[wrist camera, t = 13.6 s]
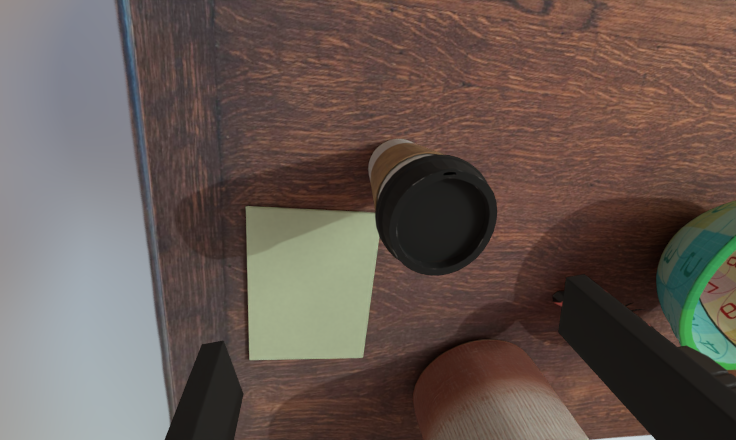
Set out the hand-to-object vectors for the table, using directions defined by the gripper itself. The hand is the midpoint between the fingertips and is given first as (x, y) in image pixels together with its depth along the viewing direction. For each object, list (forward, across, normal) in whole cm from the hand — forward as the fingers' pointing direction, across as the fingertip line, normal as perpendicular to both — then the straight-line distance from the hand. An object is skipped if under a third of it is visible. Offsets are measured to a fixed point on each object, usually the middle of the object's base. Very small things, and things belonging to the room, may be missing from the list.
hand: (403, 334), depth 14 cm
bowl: (+24, +43, -18) cm, 52 cm away
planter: (+24, +13, -34) cm, 44 cm away
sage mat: (+24, -6, -14) cm, 29 cm away
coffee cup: (+25, +5, -1) cm, 25 cm away
